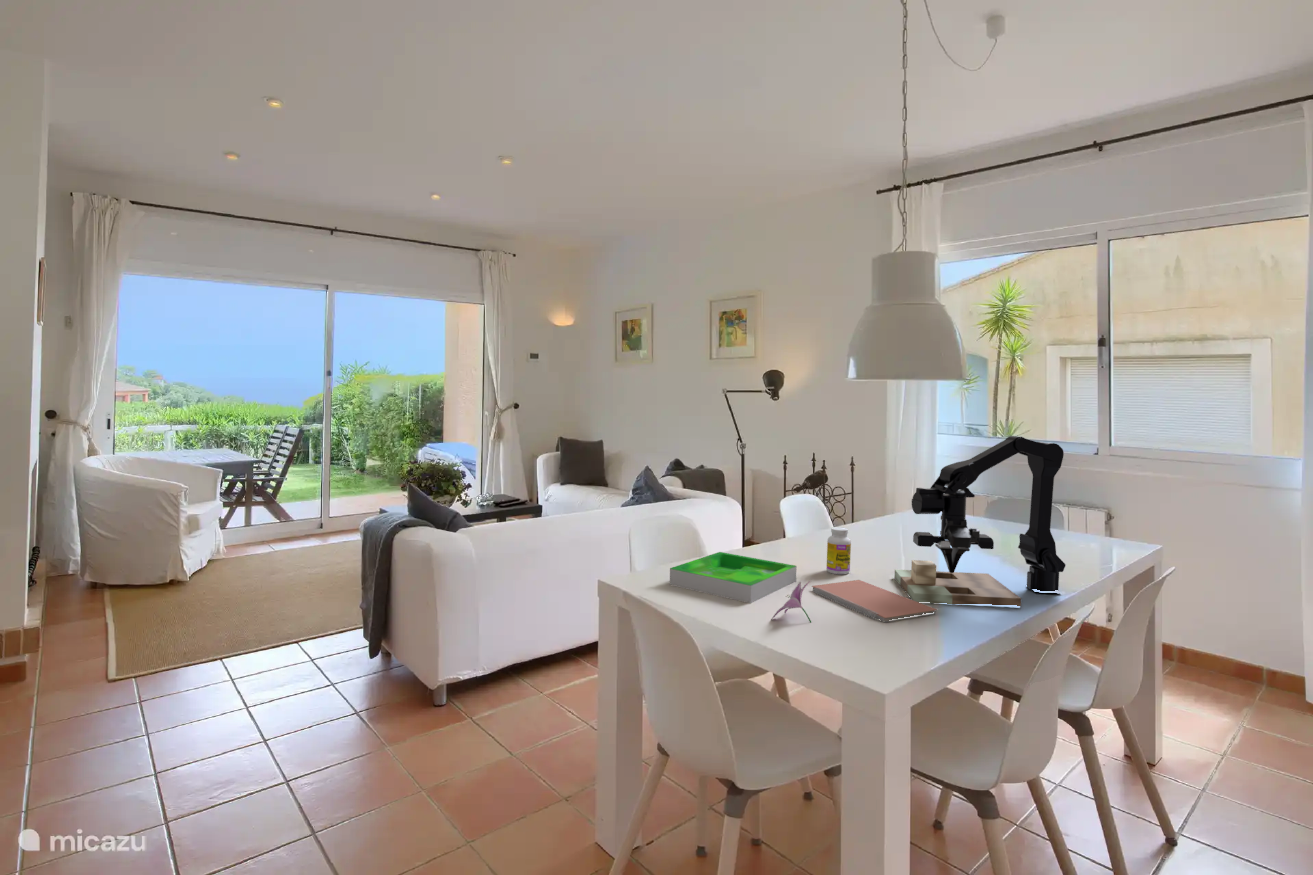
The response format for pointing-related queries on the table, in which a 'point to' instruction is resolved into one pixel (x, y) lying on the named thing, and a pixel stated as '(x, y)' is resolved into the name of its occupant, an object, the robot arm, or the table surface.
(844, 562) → the supplement bottle
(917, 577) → the block
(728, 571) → the tray
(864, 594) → the notebook
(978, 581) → the trap deck
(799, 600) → the lily
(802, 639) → the table surface
